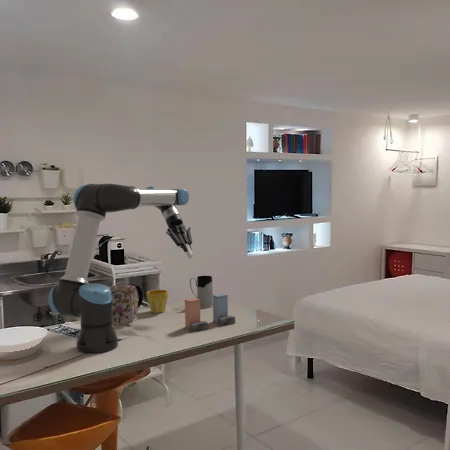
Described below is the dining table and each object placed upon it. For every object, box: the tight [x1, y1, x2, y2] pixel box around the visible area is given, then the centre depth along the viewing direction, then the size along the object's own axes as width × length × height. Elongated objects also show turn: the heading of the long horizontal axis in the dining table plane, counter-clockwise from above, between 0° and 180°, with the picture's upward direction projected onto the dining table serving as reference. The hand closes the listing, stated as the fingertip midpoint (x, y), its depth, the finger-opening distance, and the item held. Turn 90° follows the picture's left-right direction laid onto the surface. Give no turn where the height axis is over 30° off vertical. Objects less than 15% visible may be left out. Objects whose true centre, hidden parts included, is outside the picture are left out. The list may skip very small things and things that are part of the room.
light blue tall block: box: [212, 293, 229, 324], centre depth 208 cm, size 5×4×12 cm
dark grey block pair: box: [189, 315, 236, 333], centre depth 205 cm, size 26×14×4 cm, turn 125°
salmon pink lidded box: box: [184, 297, 201, 330], centre depth 200 cm, size 5×4×12 cm
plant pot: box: [146, 289, 169, 314], centre depth 232 cm, size 10×10×10 cm
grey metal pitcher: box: [189, 275, 214, 309], centre depth 242 cm, size 9×14×15 cm, turn 53°
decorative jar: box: [109, 281, 139, 326], centre depth 214 cm, size 12×12×18 cm
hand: (190, 256), depth 221 cm, fingers closed
